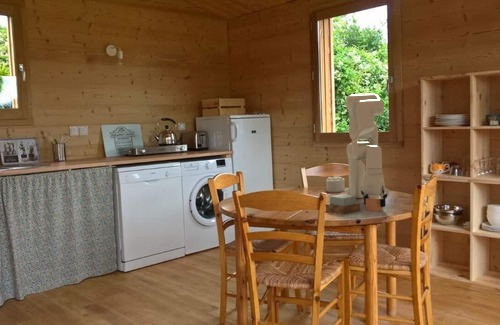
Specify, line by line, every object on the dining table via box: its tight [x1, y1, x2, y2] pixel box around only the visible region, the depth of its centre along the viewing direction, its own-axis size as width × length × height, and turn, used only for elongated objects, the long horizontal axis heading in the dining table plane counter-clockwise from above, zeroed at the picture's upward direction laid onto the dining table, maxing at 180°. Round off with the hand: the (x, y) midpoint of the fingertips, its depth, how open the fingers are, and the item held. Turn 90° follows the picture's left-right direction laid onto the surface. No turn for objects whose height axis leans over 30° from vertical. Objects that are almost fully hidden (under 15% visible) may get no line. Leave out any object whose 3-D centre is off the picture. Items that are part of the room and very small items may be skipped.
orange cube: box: [365, 197, 384, 213], centre depth 239 cm, size 6×6×6 cm
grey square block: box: [329, 193, 357, 206], centre depth 240 cm, size 9×9×4 cm
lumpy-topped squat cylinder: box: [325, 176, 346, 193], centre depth 303 cm, size 10×13×9 cm
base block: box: [325, 202, 361, 215], centre depth 240 cm, size 12×12×4 cm
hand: (374, 205), depth 239 cm, fingers open, 9 cm apart
